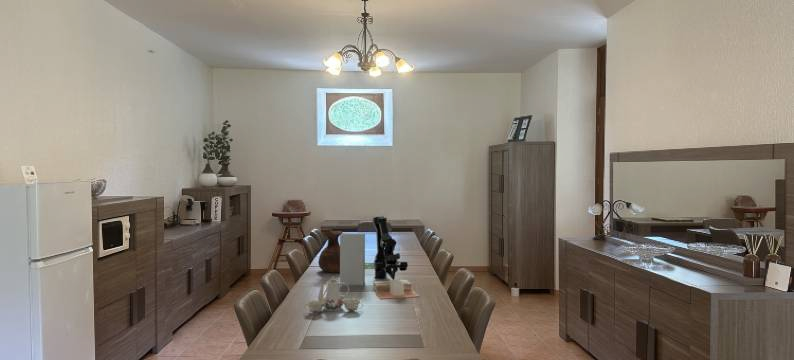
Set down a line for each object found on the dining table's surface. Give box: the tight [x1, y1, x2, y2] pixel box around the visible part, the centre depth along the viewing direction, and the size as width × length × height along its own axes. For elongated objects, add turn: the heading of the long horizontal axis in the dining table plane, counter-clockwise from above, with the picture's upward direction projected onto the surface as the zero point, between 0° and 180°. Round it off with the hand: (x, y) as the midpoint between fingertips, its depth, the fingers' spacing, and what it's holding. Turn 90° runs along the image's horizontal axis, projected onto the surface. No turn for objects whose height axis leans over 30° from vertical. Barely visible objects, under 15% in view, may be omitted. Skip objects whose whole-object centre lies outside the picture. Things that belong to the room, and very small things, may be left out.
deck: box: [372, 279, 412, 292], centre depth 291 cm, size 11×20×4 cm, turn 104°
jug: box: [317, 228, 344, 274], centre depth 340 cm, size 22×22×30 cm
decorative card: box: [365, 259, 401, 270], centre depth 359 cm, size 33×8×20 cm
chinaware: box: [304, 276, 364, 315], centre depth 248 cm, size 28×17×17 cm, turn 106°
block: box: [389, 278, 404, 296], centre depth 279 cm, size 7×6×8 cm
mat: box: [375, 289, 420, 300], centre depth 278 cm, size 13×22×1 cm, turn 104°
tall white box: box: [339, 233, 366, 286], centre depth 304 cm, size 14×6×30 cm, turn 84°
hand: (393, 279), depth 287 cm, fingers closed
